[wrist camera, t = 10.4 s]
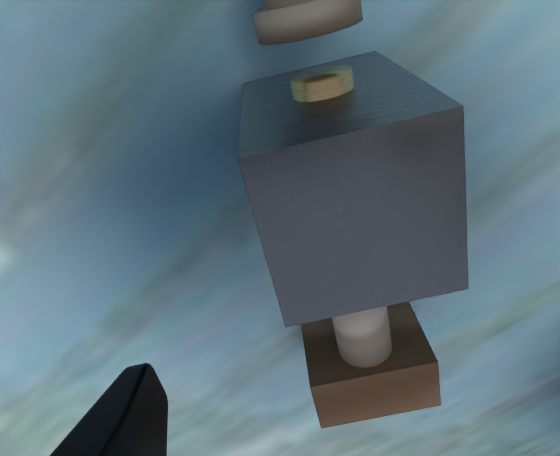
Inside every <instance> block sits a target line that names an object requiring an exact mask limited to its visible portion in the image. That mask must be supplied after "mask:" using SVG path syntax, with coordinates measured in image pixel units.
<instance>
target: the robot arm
mask: <svg viewBox="0 0 560 456" xmlns="http://www.w3.org/2000/svg"><path fill="white" fill-rule="evenodd" d="M167 422H168V400H167V396H166V393H165V390H164V388H163V386H162V384H161V382H160V380H159V378H158V376H157V374H156V372H155V370H154V368H153V367H152V366H151V365H150V364H148V363H143V364H139V365H134V366H130V367H127V368H126V369H125V370H124V371H123V372H122V373H121V374H120V375H119V376H118V377H117V379H116V380H115V381H114V382H113V383H112V384H111V385H110V387H109V388H108V389H107V390H106V391H105V392H104V394H103V395H102V396H101V397H100V398H99V399H98V400H97V402H96V403H95V404H94V405H93V406H92V407H91V409H90V410H89V411H88V412H87V413H86V414H85V416H84V417H83V418H82V419H81V420H80V421H79V422H78V424H77V425H76V426H75V427H74V428H73V429H72V431H71V432H70V433H69V434H68V435H67V436H66V437H65V439H64V440H63V441H62V442H61V443H60V444H59V446H58V447H57V448H56V449H55V450H54V451H53V453H52V454H51V455H50V456H166V454H167Z"/></svg>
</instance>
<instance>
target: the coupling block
mask: <svg viewBox="0 0 560 456" xmlns="http://www.w3.org/2000/svg"><path fill="white" fill-rule="evenodd" d="M238 162H239V165H240V169H241V172H242V176H243V180H244V183H245V187H246V190H247V194H248V197H249V201H250V204H251V208H252V211H253V215H254V218H255V222H256V225H257V229H258V232H259V236H260V239H261V243H262V246H263V250H264V253H265V257H266V260H267V264H268V267H269V271H270V274H271V278H272V281H273V285H274V288H275V292H276V295H277V299H278V302H279V306H280V309H281V313H282V316H283V320H284V323H285V327H289V326H294V325H298V324H303V323H308V322H313V321H317V320H322V319H327V318H332V317H336V316H341V315H346V314H351V313H356V312H360V311H365V310H370V309H375V308H379V307H384V306H389V305H394V304H398V303H403V302H408V301H413V300H418V299H422V298H427V297H432V296H437V295H441V294H446V293H451V292H456V291H460V290H465V289H468V259H467V222H466V185H465V148H464V111H463V105H461V104H459V103H458V102H456V101H455V100H453V99H451V98H450V97H448V96H447V95H445V94H443V93H442V92H440V91H439V90H437V89H435V88H434V87H432V86H431V85H429V84H427V83H426V82H424V81H423V80H421V79H419V78H418V77H416V76H415V75H413V74H411V73H410V72H408V71H407V70H405V69H403V68H402V67H400V66H399V65H397V64H395V63H394V62H392V61H391V60H389V59H387V58H386V57H384V56H383V55H381V54H379V53H378V52H376V51H374V52H370V53H366V54H362V55H357V56H353V57H349V58H345V59H341V60H337V61H333V62H329V63H324V64H320V65H316V66H312V67H308V68H304V69H300V70H296V71H292V72H287V73H283V74H279V75H275V76H271V77H267V78H263V79H259V80H255V81H250V82H246V83H243V91H242V105H241V118H240V132H239V146H238Z"/></svg>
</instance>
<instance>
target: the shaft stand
mask: <svg viewBox="0 0 560 456" xmlns="http://www.w3.org/2000/svg"><path fill="white" fill-rule="evenodd" d="M264 5H265V7H264V8H261V9H258V10H256V11H253V12H252V17H253V22H254V26H255V30H256V35H257V39H258V43H259V44H261V45H273V44H282V43H289V42H294V41H299V40H304V39H309V38H313V37H317V36H321V35H325V34H329V33H332V32H336V31H339V30H342V29H345V28H348V27H350V26H353V25H355V24H357V23H359V22H361V21H362V20H363V18H362V10H361V1H360V0H264ZM301 327H302V334H303V341H304V348H305V355H306V362H307V369H308V375H309V382H310V388H311V392H312V396H313V400H314V403H315V407H316V411H317V414H318V418H319V422H320V426H321V428H327V427H332V426H337V425H342V424H347V423H352V422H357V421H362V420H368V419H373V418H378V417H383V416H388V415H393V414H398V413H404V412H409V411H414V410H419V409H424V408H429V407H434V406H439V405H441V399H440V385H439V371H438V361H437V359H436V357H435V355H434V353H433V351H432V349H431V347H430V345H429V342H428V340H427V338H426V336H425V334H424V332H423V330H422V328H421V326H420V324H419V322H418V320H417V318H416V315H415V313H414V311H413V309H412V307H411V305H410V303H409V301H408V302H403V303H398V304H394V305H389V306H384V307H379V308H375V309H370V310H365V311H360V312H356V313H351V314H346V315H341V316H336V317H332V318H327V319H322V320H317V321H313V322H308V323H303V324H301Z"/></svg>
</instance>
